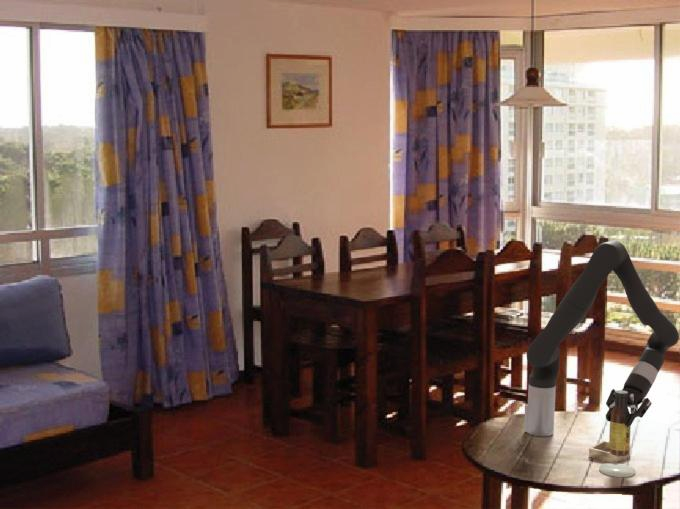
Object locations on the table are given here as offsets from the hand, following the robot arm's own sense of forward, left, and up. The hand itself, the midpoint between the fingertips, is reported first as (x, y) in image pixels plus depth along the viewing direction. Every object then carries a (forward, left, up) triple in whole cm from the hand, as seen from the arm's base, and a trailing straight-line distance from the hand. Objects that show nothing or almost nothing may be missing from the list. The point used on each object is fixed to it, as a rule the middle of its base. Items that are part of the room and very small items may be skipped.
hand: (616, 422), depth 327 cm
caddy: (-8, +13, -16) cm, 22 cm away
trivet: (0, +2, -16) cm, 16 cm away
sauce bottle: (0, +2, -11) cm, 11 cm away
